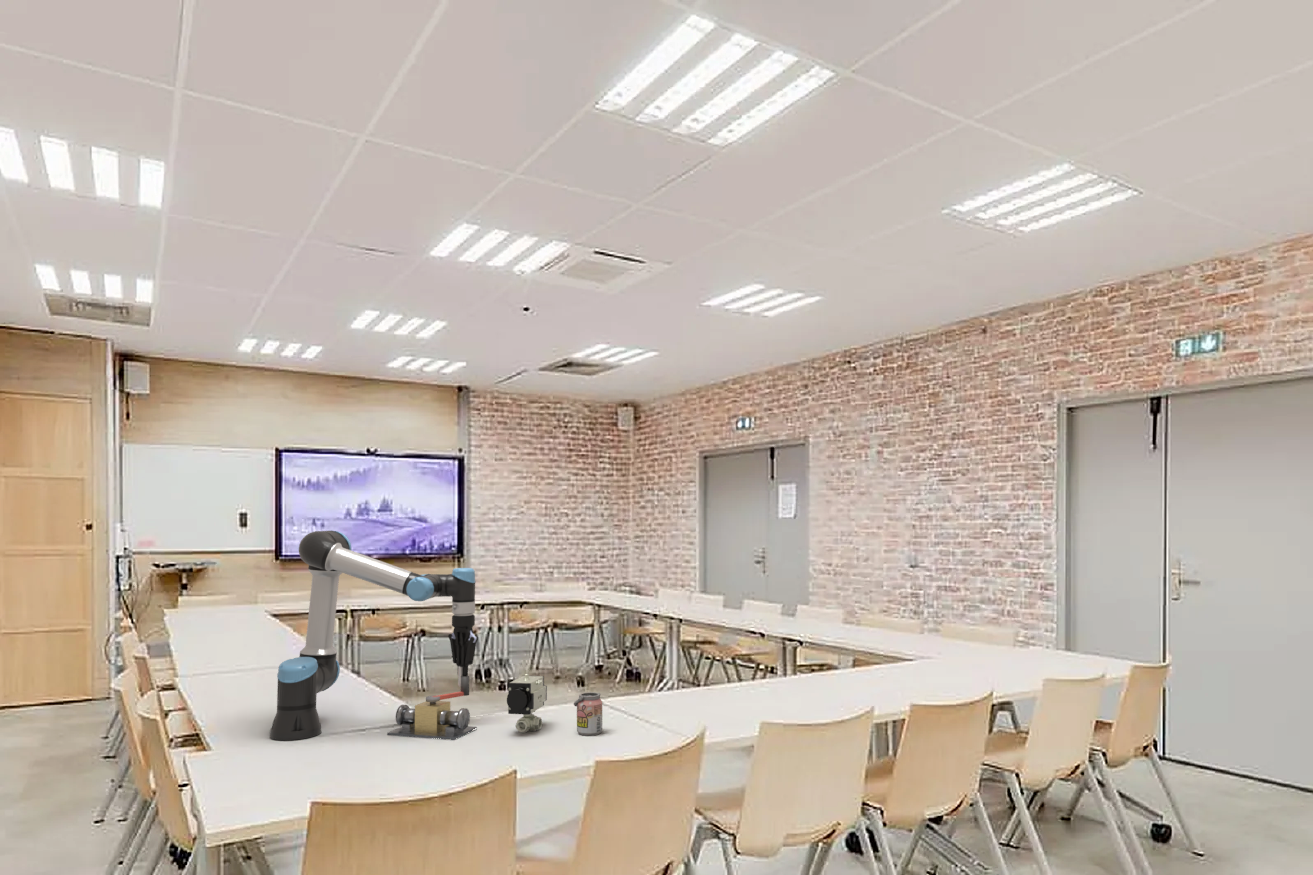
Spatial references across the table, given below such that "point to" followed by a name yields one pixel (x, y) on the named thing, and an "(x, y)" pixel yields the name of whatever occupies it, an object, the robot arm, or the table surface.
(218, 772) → the table surface
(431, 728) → the valve assembly
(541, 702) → the ball valve
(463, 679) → the lever
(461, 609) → the robot arm
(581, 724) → the beverage can
